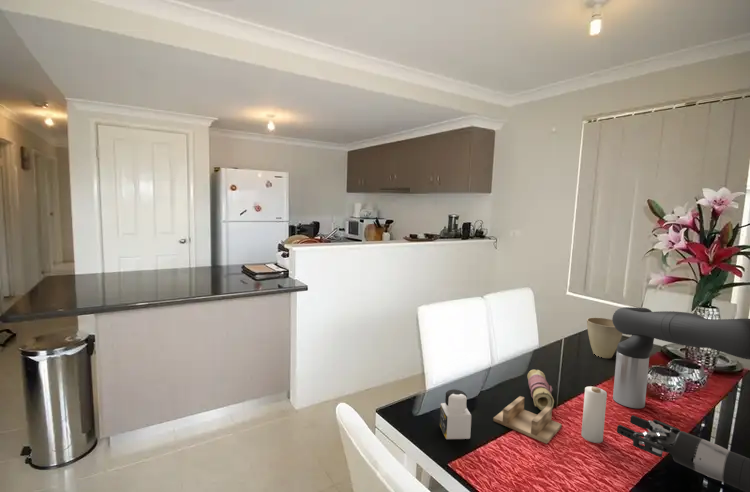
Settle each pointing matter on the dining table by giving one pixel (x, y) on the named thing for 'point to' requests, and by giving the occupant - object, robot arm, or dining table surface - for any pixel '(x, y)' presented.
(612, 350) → the plant pot
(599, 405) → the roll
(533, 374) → the scroll
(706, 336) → the robot arm
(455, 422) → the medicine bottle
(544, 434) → the stand
